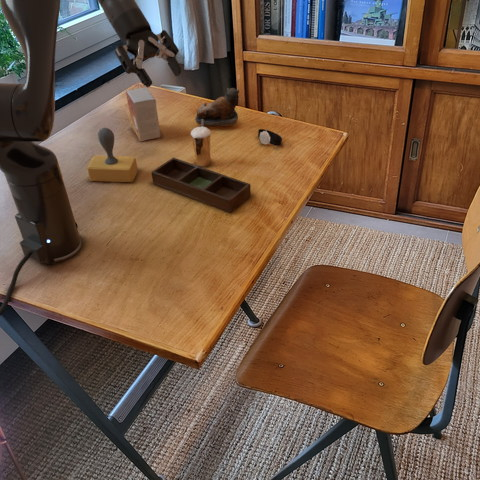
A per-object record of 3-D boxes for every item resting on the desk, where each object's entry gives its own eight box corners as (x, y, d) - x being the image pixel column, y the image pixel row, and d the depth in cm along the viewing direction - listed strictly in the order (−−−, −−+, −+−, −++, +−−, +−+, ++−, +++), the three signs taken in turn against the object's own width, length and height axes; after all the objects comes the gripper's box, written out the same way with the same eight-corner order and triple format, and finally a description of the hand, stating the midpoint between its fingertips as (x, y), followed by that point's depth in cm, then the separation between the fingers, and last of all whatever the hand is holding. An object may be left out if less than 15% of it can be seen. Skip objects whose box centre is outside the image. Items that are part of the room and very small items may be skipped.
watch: (253, 139, 149) (252, 126, 146) (267, 133, 151) (267, 120, 149) (272, 150, 144) (272, 137, 142) (286, 144, 147) (287, 131, 144)
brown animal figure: (193, 129, 153) (190, 92, 146) (199, 117, 158) (195, 81, 151) (239, 131, 152) (237, 94, 145) (242, 119, 157) (241, 83, 151)
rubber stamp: (138, 170, 137) (129, 123, 129) (132, 183, 133) (122, 135, 125) (97, 168, 138) (85, 121, 130) (89, 181, 134) (77, 134, 126)
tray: (230, 213, 124) (229, 200, 122) (153, 184, 133) (151, 171, 131) (250, 196, 129) (250, 184, 127) (174, 169, 138) (173, 157, 136)
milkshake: (215, 157, 142) (212, 119, 135) (211, 168, 138) (207, 130, 131) (197, 156, 142) (192, 118, 136) (192, 167, 138) (187, 129, 132)
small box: (132, 128, 153) (125, 90, 146) (152, 124, 155) (146, 86, 148) (140, 142, 148) (132, 102, 141) (161, 137, 149) (155, 98, 143)
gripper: (104, 15, 125) (145, 81, 127) (156, 0, 133) (194, 62, 135) (95, 34, 132) (134, 97, 133) (145, 19, 139) (182, 78, 141)
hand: (164, 79), depth 134 cm, fingers open, 8 cm apart
